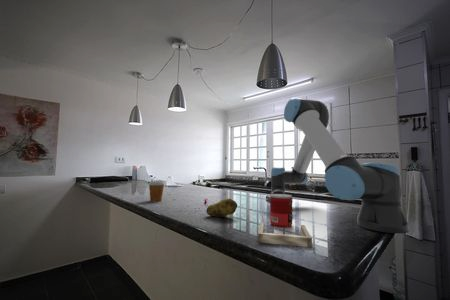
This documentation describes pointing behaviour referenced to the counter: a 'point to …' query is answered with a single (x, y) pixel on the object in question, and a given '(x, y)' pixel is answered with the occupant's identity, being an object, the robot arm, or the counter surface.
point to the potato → (222, 208)
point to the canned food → (281, 210)
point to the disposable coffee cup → (156, 190)
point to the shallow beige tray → (285, 237)
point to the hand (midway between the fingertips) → (280, 205)
